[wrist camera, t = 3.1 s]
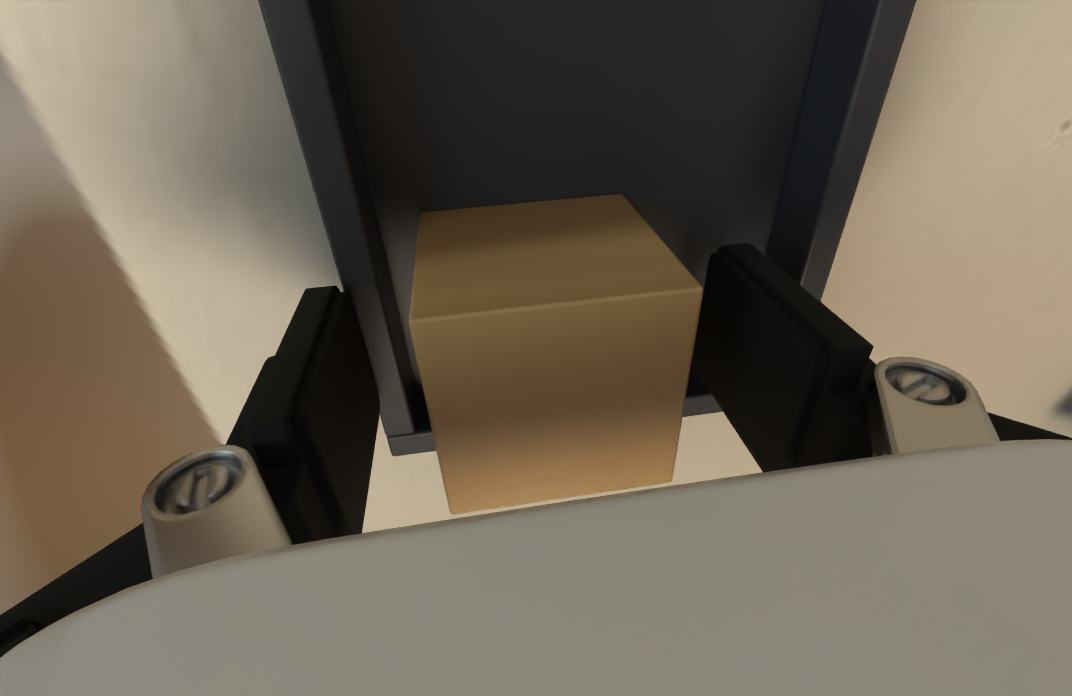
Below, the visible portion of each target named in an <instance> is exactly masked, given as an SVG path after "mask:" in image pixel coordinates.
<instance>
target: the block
mask: <svg viewBox="0 0 1072 696" xmlns="http://www.w3.org/2000/svg"><path fill="white" fill-rule="evenodd" d="M702 295H703V288H702V286H701V285H700V284H699V283H698V281H697V280H696V279H695V278H694V277H693V276H692V274H691V273H690V272H689V271H688V270H687V269H686V268H685V266H684V265H683V264H682V263H681V262H680V261H679V259H678V258H677V257H676V256H675V255H674V254H673V253H672V251H671V250H670V249H669V248H668V247H667V246H666V244H665V243H664V242H663V241H662V240H661V239H660V237H659V236H658V235H657V234H656V233H655V232H654V231H653V229H652V228H651V227H650V226H649V225H648V224H647V222H646V221H645V220H644V219H643V218H642V217H641V215H640V214H639V213H638V212H637V211H636V210H635V209H634V207H633V206H632V205H631V204H630V203H629V202H628V200H627V199H626V198H625V197H624V196H623V195H622V194H614V195H603V196H592V197H582V198H571V199H560V200H549V201H538V202H527V203H517V204H506V205H495V206H484V207H473V208H463V209H452V210H441V211H430V212H422V213H420V216H419V226H418V235H417V245H416V255H415V264H414V274H413V284H412V293H411V303H410V313H409V322H408V323H409V328H410V332H411V337H412V341H413V346H414V350H415V355H416V360H417V364H418V369H419V373H420V378H421V382H422V387H423V391H424V396H425V401H426V405H427V410H428V414H429V419H430V423H431V428H432V432H433V437H434V442H435V446H436V451H437V455H438V460H439V464H440V469H441V473H442V478H443V483H444V487H445V492H446V496H447V501H448V505H449V510H450V512H451V514H460V513H467V512H473V511H480V510H487V509H493V508H500V507H507V506H514V505H520V504H527V503H534V502H541V501H547V500H554V499H561V498H567V497H574V496H581V495H588V494H594V493H601V492H608V491H615V490H621V489H628V488H635V487H642V486H648V485H655V484H662V483H668V482H671V481H672V477H673V471H674V465H675V459H676V453H677V446H678V440H679V434H680V428H681V422H682V416H683V410H684V404H685V398H686V392H687V386H688V380H689V374H690V368H691V362H692V356H693V350H694V343H695V337H696V331H697V325H698V319H699V313H700V307H701V301H702Z"/></svg>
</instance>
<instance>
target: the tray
mask: <svg viewBox="0 0 1072 696" xmlns="http://www.w3.org/2000/svg"><path fill="white" fill-rule="evenodd" d="M258 1H259V5H260V8H261V11H262V15H263V18H264V22H265V25H266V28H267V32H268V35H269V39H270V42H271V45H272V49H273V52H274V56H275V59H276V63H277V66H278V69H279V73H280V76H281V80H282V83H283V86H284V90H285V93H286V97H287V100H288V103H289V107H290V110H291V114H292V117H293V120H294V124H295V127H296V131H297V134H298V138H299V141H300V144H301V148H302V151H303V155H304V158H305V161H306V165H307V168H308V172H309V175H310V178H311V182H312V185H313V189H314V192H315V196H316V199H317V202H318V206H319V209H320V213H321V216H322V219H323V223H324V226H325V230H326V233H327V236H328V240H329V243H330V247H331V250H332V253H333V257H334V260H335V264H336V267H337V271H338V274H339V277H340V281H341V284H342V288H343V291H344V292H348V293H349V294H350V296H351V299H352V303H353V306H354V310H355V313H356V317H357V320H358V324H359V327H360V331H361V334H362V338H363V341H364V345H365V348H366V352H367V355H368V359H369V362H370V366H371V369H372V373H373V376H374V380H375V383H376V387H377V390H378V394H379V399H380V417H381V421H382V424H383V427H384V431H385V434H386V436H387V440H388V444H389V447H390V451H391V454H392V455H393V456H400V455H408V454H415V453H422V452H430V451H436V446H435V442H434V437H433V432H432V428H431V423H430V419H429V414H428V410H427V405H426V401H425V396H424V391H423V387H422V382H421V378H420V373H419V369H418V364H417V360H416V355H415V350H414V346H413V341H412V337H411V332H410V328H409V323H408V322H409V313H410V303H411V293H412V284H413V274H414V264H415V255H416V245H417V235H418V226H419V216H420V213H422V212H430V211H441V210H452V209H463V208H473V207H484V206H495V205H506V204H517V203H527V202H538V201H549V200H560V199H571V198H582V197H592V196H603V195H614V194H622V195H623V196H624V197H625V198H626V199H627V200H628V202H629V203H630V204H631V205H632V206H633V207H634V209H635V210H636V211H637V212H638V213H639V214H640V215H641V217H642V218H643V219H644V220H645V221H646V222H647V224H648V225H649V226H650V227H651V228H652V229H653V231H654V232H655V233H656V234H657V235H658V236H659V237H660V239H661V240H662V241H663V242H664V243H665V244H666V246H667V247H668V248H669V249H670V250H671V251H672V253H673V254H674V255H675V256H676V257H677V258H678V259H679V261H680V262H681V263H682V264H683V265H684V266H685V268H686V269H687V270H688V271H689V272H690V273H691V274H692V276H693V277H694V278H695V279H696V280H697V281H698V283H699V284H700V285H701V286H702V288H703V291H704V285H705V279H706V273H707V267H708V261H709V257H710V255H711V254H712V253H716V252H717V250H718V248H719V247H720V246H721V245H730V244H739V243H750V244H752V245H753V246H754V247H755V248H756V249H758V250H759V251H760V252H761V253H762V254H764V255H765V256H766V257H767V258H768V259H770V260H771V261H772V262H773V263H774V264H776V265H777V266H778V267H779V268H780V269H782V270H783V271H784V272H785V273H786V274H788V275H789V276H790V277H791V278H792V279H793V280H795V281H796V282H797V283H798V284H799V285H801V286H802V287H803V288H804V289H805V290H807V291H808V292H809V293H810V294H811V295H813V296H814V297H815V298H816V299H817V300H819V301H821V298H822V295H823V292H824V289H825V285H826V282H827V279H828V276H829V273H830V270H831V267H832V263H833V260H834V257H835V254H836V251H837V248H838V245H839V242H840V238H841V235H842V232H843V229H844V226H845V223H846V220H847V216H848V213H849V210H850V207H851V204H852V201H853V198H854V194H855V191H856V188H857V185H858V182H859V179H860V176H861V172H862V169H863V166H864V163H865V160H866V157H867V154H868V151H869V147H870V144H871V141H872V138H873V135H874V132H875V129H876V125H877V122H878V119H879V116H880V113H881V110H882V107H883V103H884V100H885V97H886V94H887V91H888V88H889V85H890V81H891V78H892V75H893V72H894V69H895V66H896V63H897V60H898V56H899V53H900V50H901V47H902V44H903V41H904V38H905V34H906V31H907V28H908V25H909V22H910V19H911V16H912V12H913V9H914V6H915V3H916V0H258ZM702 297H703V295H702ZM701 303H702V301H701ZM700 309H701V307H700ZM699 315H700V313H699ZM698 321H699V319H698ZM697 327H698V325H697ZM696 333H697V331H696ZM695 340H696V337H695ZM694 346H695V343H694ZM693 352H694V350H693ZM715 412H723V411H722V409H721V408H720V406H719V405H718V403H717V402H716V400H715V399H714V397H713V395H712V394H711V392H710V391H709V389H708V388H707V386H706V385H705V383H704V382H703V380H702V379H701V377H700V376H699V374H698V373H697V371H696V369H695V367H694V363H693V356H692V362H691V368H690V374H689V380H688V386H687V392H686V398H685V404H684V410H683V416H682V417H686V416H693V415H701V414H708V413H715Z"/></svg>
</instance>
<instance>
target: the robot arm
mask: <svg viewBox="0 0 1072 696" xmlns="http://www.w3.org/2000/svg"><path fill="white" fill-rule="evenodd" d="M873 347H874V346H873V345H871V344H870V343H869V342H868V341H867V340H865V339H864V338H863V337H862V336H861V335H859V334H858V333H857V332H856V331H855V330H853V329H852V328H851V327H850V326H849V325H847V324H846V323H845V322H844V321H843V320H841V319H840V318H839V317H838V316H837V315H835V314H834V313H833V312H832V311H831V310H829V309H828V308H827V307H826V306H825V305H823V304H822V303H821V302H820V301H819V300H817V299H816V298H815V297H814V296H813V295H811V294H810V293H809V292H808V291H807V290H805V289H804V288H803V287H802V286H801V285H799V284H798V283H797V282H796V281H795V280H793V279H792V278H791V277H790V276H789V275H788V274H786V273H785V272H784V271H783V270H782V269H780V268H779V267H778V266H777V265H776V264H774V263H773V262H772V261H771V260H770V259H768V258H767V257H766V256H765V255H764V254H762V253H761V252H760V251H759V250H758V249H756V248H755V247H754V246H753V245H752V244H750V243H739V244H730V245H721V246H720V247H719V248H718V250H717V252H716V253H712V254H711V255H710V257H709V261H708V267H707V273H706V279H705V285H704V291H703V297H702V303H701V309H700V315H699V321H698V327H697V333H696V340H695V346H694V352H693V363H694V367H695V369H696V371H697V373H698V374H699V376H700V377H701V379H702V380H703V382H704V383H705V385H706V386H707V388H708V389H709V391H710V392H711V394H712V395H713V397H714V399H715V400H716V402H717V403H718V405H719V406H720V408H721V409H722V411H723V412H724V414H725V415H726V417H727V418H728V420H729V421H730V423H731V424H732V426H733V427H734V429H735V430H736V432H737V433H738V435H739V436H740V438H741V439H742V441H743V442H744V444H745V446H746V447H747V449H748V450H749V452H750V453H751V455H752V456H753V458H754V459H755V461H756V462H757V464H758V465H759V467H760V468H761V470H762V471H763V473H756V474H749V475H742V476H735V477H728V478H721V479H715V480H708V481H701V482H694V483H688V484H681V485H674V486H667V487H661V488H654V489H647V490H640V491H634V492H627V493H620V494H614V495H607V496H600V497H594V498H587V499H580V500H574V501H567V502H560V503H554V504H547V505H541V506H534V507H528V508H521V509H515V510H508V511H502V512H495V513H489V514H483V515H476V516H470V517H463V518H457V519H450V520H444V521H437V522H431V523H424V524H418V525H411V526H405V527H399V528H392V529H386V530H380V531H373V532H367V533H362V528H363V521H364V515H365V508H366V501H367V494H368V488H369V481H370V474H371V468H372V461H373V454H374V448H375V441H376V434H377V427H378V421H379V414H380V399H379V394H378V390H377V387H376V383H375V380H374V376H373V373H372V369H371V366H370V362H369V359H368V355H367V352H366V348H365V345H364V341H363V338H362V334H361V331H360V327H359V324H358V320H357V317H356V313H355V310H354V306H353V303H352V299H351V296H350V294H349V293H348V292H340V291H339V289H338V287H337V286H327V287H317V288H308V289H306V290H305V291H304V293H303V295H302V298H301V300H300V302H299V304H298V306H297V309H296V311H295V313H294V315H293V317H292V319H291V322H290V324H289V326H288V328H287V330H286V333H285V335H284V337H283V339H282V341H281V344H280V346H279V348H278V350H277V352H276V354H275V356H272V357H269V358H268V359H267V360H266V361H265V363H264V365H263V367H262V369H261V371H260V373H259V376H258V378H257V380H256V382H255V384H254V386H253V388H252V390H251V392H250V394H249V397H248V399H247V401H246V403H245V405H244V407H243V409H242V411H241V413H240V415H239V418H238V420H237V422H236V424H235V426H234V428H233V430H232V432H231V434H230V436H229V439H228V441H227V443H226V445H218V446H212V447H206V448H203V449H200V450H197V451H194V452H191V453H189V454H187V455H186V456H184V457H182V458H180V459H178V460H176V461H174V462H173V463H171V464H170V465H169V466H167V467H166V468H165V469H163V470H162V471H161V472H160V473H159V474H158V475H157V476H156V477H155V478H154V479H153V480H152V481H151V482H150V484H149V485H148V487H147V488H146V490H145V492H144V494H143V496H142V502H141V512H142V518H143V523H142V524H140V525H139V526H137V527H136V528H134V529H133V530H131V531H130V532H128V533H126V534H125V535H123V536H122V537H120V538H119V539H117V540H116V541H114V542H113V543H111V544H109V545H108V546H106V547H105V548H103V549H102V550H100V551H99V552H97V553H95V554H94V555H92V556H91V557H89V558H88V559H86V560H85V561H83V562H82V563H80V564H78V565H77V566H75V567H74V568H72V569H71V570H69V571H68V572H66V573H65V574H63V575H61V576H60V577H58V578H57V579H55V580H54V581H52V582H51V583H49V584H48V585H46V586H45V587H43V588H42V589H40V590H38V591H37V592H35V593H34V594H32V595H31V596H29V597H28V598H26V599H25V600H23V601H21V602H20V603H18V604H17V605H15V606H14V607H12V608H11V609H9V610H7V611H6V612H4V613H3V614H1V615H0V696H1072V438H1070V437H1066V436H1063V435H1060V434H1057V433H1053V432H1050V431H1047V430H1044V429H1040V428H1037V427H1034V426H1030V425H1027V424H1024V423H1021V422H1017V421H1014V420H1011V419H1008V418H1004V417H1001V416H998V415H994V414H991V413H988V412H987V411H986V409H985V407H984V405H983V403H982V400H981V398H980V396H979V394H978V392H977V390H976V389H975V388H974V386H973V385H972V384H971V382H969V381H968V380H967V379H966V378H964V377H963V376H962V375H960V374H959V373H957V372H955V371H953V370H951V369H949V368H948V367H945V366H943V365H940V364H937V363H934V362H932V361H928V360H923V359H919V358H912V357H893V358H888V359H885V360H883V361H880V362H879V363H878V364H877V365H876V364H875V363H874V362H873V361H872V360H871V359H869V357H870V354H871V352H872V349H873Z"/></svg>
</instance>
